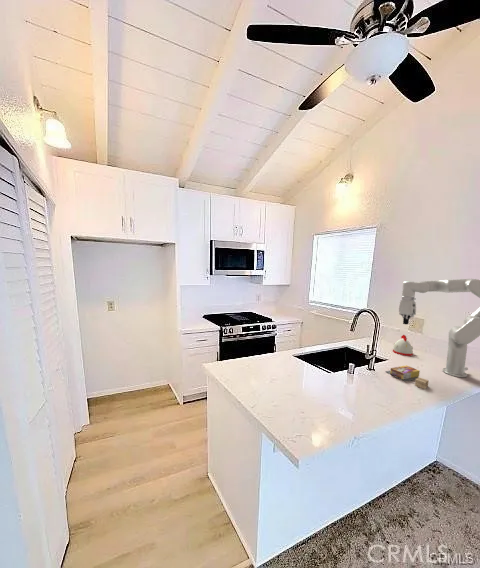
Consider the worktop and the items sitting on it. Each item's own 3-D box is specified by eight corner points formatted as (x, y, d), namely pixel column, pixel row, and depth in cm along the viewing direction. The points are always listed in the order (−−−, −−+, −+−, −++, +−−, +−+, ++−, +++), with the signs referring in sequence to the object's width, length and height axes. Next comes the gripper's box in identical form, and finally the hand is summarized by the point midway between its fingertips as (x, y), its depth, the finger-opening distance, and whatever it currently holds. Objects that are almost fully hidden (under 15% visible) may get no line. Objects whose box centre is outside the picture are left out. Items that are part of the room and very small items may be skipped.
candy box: (405, 371, 171) (389, 373, 165) (406, 365, 171) (390, 367, 165) (419, 377, 163) (402, 379, 157) (420, 370, 162) (403, 373, 157)
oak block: (418, 383, 154) (418, 377, 154) (428, 386, 150) (428, 380, 150) (414, 385, 151) (415, 379, 151) (424, 389, 147) (425, 382, 147)
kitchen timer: (396, 354, 204) (398, 336, 203) (389, 349, 217) (391, 332, 216) (416, 356, 202) (417, 338, 200) (407, 350, 215) (409, 333, 214)
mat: (401, 369, 173) (401, 369, 173) (421, 379, 160) (421, 378, 160) (385, 371, 169) (385, 371, 169) (404, 381, 156) (404, 380, 156)
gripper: (422, 300, 176) (419, 326, 177) (402, 297, 190) (400, 321, 191) (414, 300, 173) (411, 326, 175) (394, 297, 188) (392, 321, 189)
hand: (405, 324), depth 183 cm, fingers closed
